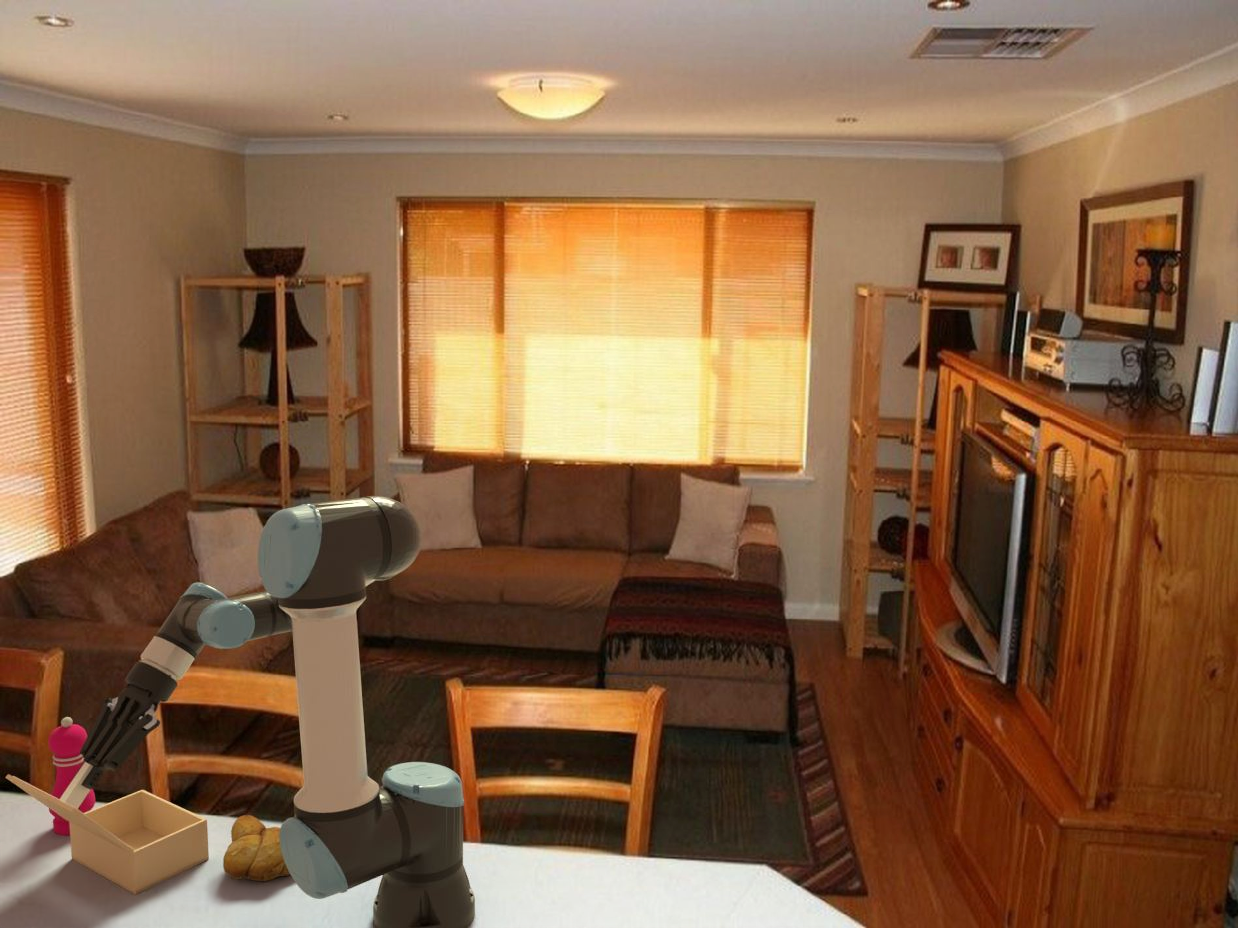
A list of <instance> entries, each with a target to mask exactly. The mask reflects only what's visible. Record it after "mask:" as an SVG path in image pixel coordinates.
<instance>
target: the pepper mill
mask: <svg viewBox="0 0 1238 928" xmlns="http://www.w3.org/2000/svg"><path fill="white" fill-rule="evenodd" d="M60 724H61V725H60V726H58V727H56V728H55V729H54V730H52V731H51V733H50V734H49V737H48V740H47V741H48V743H47V744H48V745H47V746H48V748H49V751H50V752H52V753H53V755H52V759H53V761H52V764H53V765H55V768H56V775H55V776H56V777H55V783H54V786H53V788H52V791H51V793H50V795H52V796H54V797H56V798H58V799H60V798H61V796H62V795H63V794H64V792H65V791H66V789H67V788H68V786H69V785H70V783H71V782H72V780H73V777H74V776H75V774H76V773H77V772H78V770H79V768H80V767H81V765H82V764H83V762H84V760H83V759H84V757H83V755H81V754H80V750H81V748H82V746H83V745H84V743H85V741H86V739H87V737H88V734H87V731H86V729H85V728H84V727H82V726H81V725H80V724H74V723H73V719H72V718H71V716H70V717H69V716H66V717H64V718H62V719H61V721H60ZM95 805H96V795H95V792H94V788H92V789H91V790H90V791H89V793H88V794H87V796H86V797H85V799H84V800H83V802H82V803H81V805H80V806H79V808H78V810H79V811H81V812H82V813H85V812H88V811H90V810H93V808H94V807H95ZM48 811H49V813H50V814H51V815H52V816H53V817H54V818H53V819H52V828H53V832H54V833H55V834H57V835H60V836H70V824H69V821H67V820H65V819H64V818H63V817H61V816H60V815H58V814H57V813H55V812H54V811H53V810H51V809H50V808H48Z"/></svg>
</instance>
